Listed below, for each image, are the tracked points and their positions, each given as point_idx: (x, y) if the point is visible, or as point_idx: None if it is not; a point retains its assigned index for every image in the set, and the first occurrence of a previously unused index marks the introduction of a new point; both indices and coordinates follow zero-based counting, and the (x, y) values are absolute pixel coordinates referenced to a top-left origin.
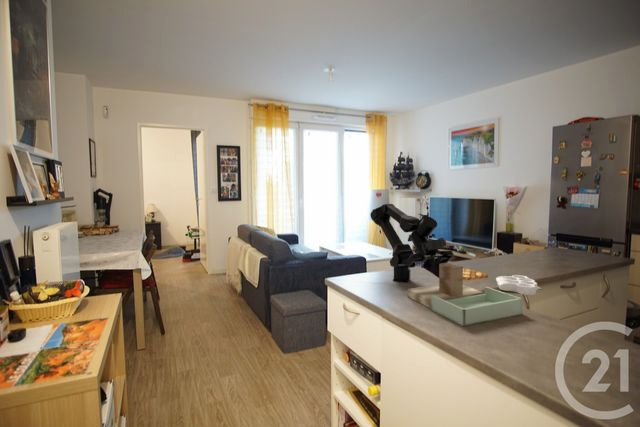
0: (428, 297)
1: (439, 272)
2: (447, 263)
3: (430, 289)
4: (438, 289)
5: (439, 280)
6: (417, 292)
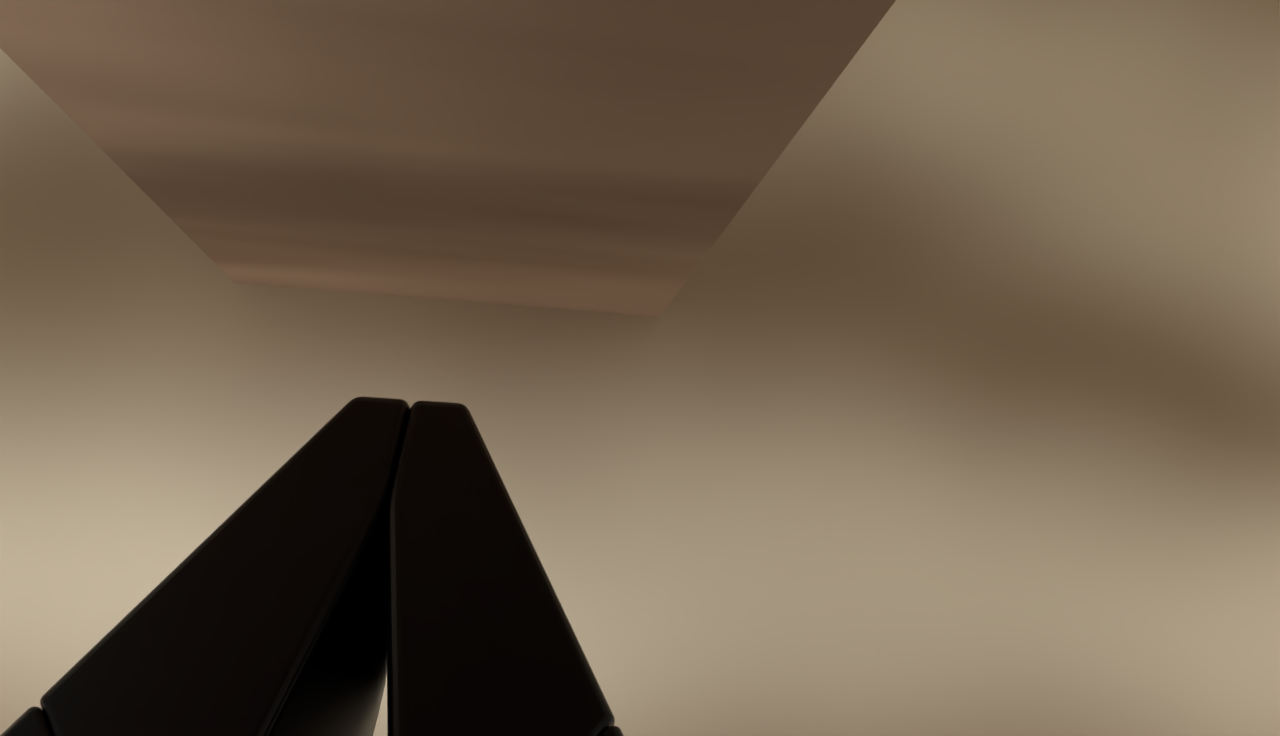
0: (1237, 89)
1: (838, 64)
2: None
3: (757, 580)
4: (542, 464)
5: (729, 210)
6: (1260, 527)
